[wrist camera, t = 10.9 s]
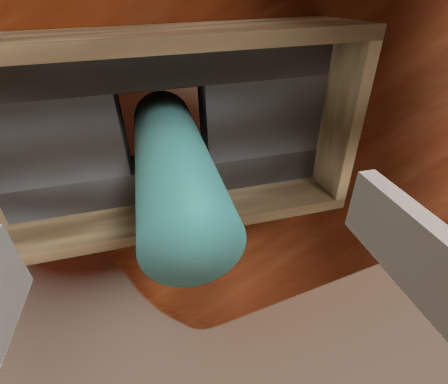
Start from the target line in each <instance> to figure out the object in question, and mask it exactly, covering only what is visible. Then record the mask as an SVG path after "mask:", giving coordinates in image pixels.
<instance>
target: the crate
mask: <svg viewBox="0 0 448 384" xmlns="http://www.w3.org/2000/svg"><path fill="white" fill-rule="evenodd" d="M386 26H387V23H380V22H372V21H364V20H355V19H347V18H339V17H331V16H308V17H288V18H267V19H247V20H227V21H207V22H186V23H166V24H146V25H125V26H105V27H85V28H65V29H44V30H24V31H4V32H0V224H3V225H4V227H5V229H6V231H7V232H8V234H9V236H10V238H11V240H12V241H13V243H14V245H15V247H16V249H17V251H18V252H19V254H20V256H21V258H22V260H23V261H24V263H25V265H26V266H28V265H33V264H38V263H44V262H49V261H55V260H60V259H65V258H71V257H77V256H82V255H87V254H92V253H98V252H104V251H109V250H115V249H120V248H126V247H131V246H136V209H135V156H131V154H130V149H129V146H128V140H127V136H126V131H125V126H124V121H123V117H122V112H121V107H120V103H119V98H118V94H120V93H132V92H143V91H153V90H165V89H176V88H187V87H198V101H199V113H200V129H201V137H202V139H203V141H204V143H205V145H206V147H207V149H208V152H209V154H210V156H211V158H212V160H213V162H214V164H215V166H216V168H217V170H218V173H219V175H220V177H221V179H222V181H223V183H224V185H225V187H226V189H227V191H228V194H229V196H230V198H231V200H232V202H233V204H234V206H235V208H236V210H237V212H238V215H239V217H240V219H241V221H242V223H243V225H244V226H245V225H251V224H256V223H262V222H267V221H273V220H278V219H284V218H289V217H295V216H300V215H305V214H311V213H316V212H322V211H327V210H333V209H338V208H343V207H344V203H345V199H346V195H347V190H348V186H349V182H350V178H351V174H352V169H353V165H354V161H355V157H356V153H357V148H358V144H359V140H360V136H361V132H362V127H363V123H364V119H365V115H366V111H367V106H368V102H369V98H370V94H371V89H372V85H373V81H374V77H375V73H376V68H377V64H378V60H379V56H380V52H381V47H382V43H383V39H384V35H385V31H386Z"/></svg>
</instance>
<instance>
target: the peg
mask: <svg viewBox="0 0 448 384" xmlns="http://www.w3.org/2000/svg"><path fill="white" fill-rule="evenodd" d="M134 129H135V130H134V134H135V209H136V257H137V261H138V264H139V266H140V268H141V270H142V271H143V272H144V273H145V274H146V275H147V276H148V277H149V278H151V279H152V280H154V281H156V282H158V283H160V284H163V285H166V286H171V287H193V286H199V285H202V284H206V283H209V282H211V281H213V280H216V279H217V278H219V277H221V276H223V275H224V274H225V273H227V272H228V271H229V270H230V269H232V268H233V267H234V266H235V265H236V263H237V262H238V261H239V259H240V258H241V256H242V254H243V252H244V250H245V246H246V240H247V238H246V231H245V227H244V225H243V223H242V221H241V219H240V217H239V215H238V212H237V210H236V208H235V206H234V204H233V202H232V200H231V198H230V196H229V194H228V191H227V189H226V187H225V185H224V183H223V181H222V179H221V177H220V175H219V173H218V170H217V168H216V166H215V164H214V162H213V160H212V158H211V156H210V154H209V152H208V149H207V147H206V145H205V143H204V141H203V139H202V137H201V135H200V133H199V131H198V128H197V126H196V124H195V122H194V120H193V118H192V116H191V114H190V112H189V110H188V108H187V106H186V104H185V102H184V101H183V100H182V99H181V98H180V97H178V96H177V95H175V94H173V93H171V92H167V91H156V92H152V93H150V94H148V95H146V96H145V97H143V98H142V99H141V100H140V101H139V103H138V105H137V107H136V110H135V114H134Z"/></svg>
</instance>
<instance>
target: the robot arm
mask: <svg viewBox="0 0 448 384" xmlns="http://www.w3.org/2000/svg"><path fill="white" fill-rule="evenodd" d="M345 225H346V226H347V227H348V228H349V229H350V231H351V232H352V233H353V234H354V235H355V236H356V237H357V239H358V240H359V241H360V242H361V243H362V244H363V246H364V247H365V248H366V249H367V250H368V251H369V252H370V254H371V255H372V256H373V257H374V258H375V259H376V260H377V262H378V263H379V264H380V265H381V266H382V267H383V268H384V270H385V271H386V272H387V273H388V274H389V275H390V277H391V278H392V279H393V280H394V281H395V282H396V283H397V285H398V286H399V287H400V288H401V289H402V290H403V291H404V293H405V294H406V295H407V296H408V297H409V298H410V300H411V301H412V302H413V303H414V304H415V305H416V306H417V308H419V310H420V311H421V312H422V313H423V314H424V316H425V317H426V318H427V319H428V320H429V321H430V322H431V324H432V325H433V326H434V327H435V328H436V329H437V331H438V332H439V333H440V334H441V335H442V336H443V337H444V339H445V340H446V341H447V342H448V225H447V224H446V223H444V222H443V221H442V220H440V219H439V218H438V217H437V216H435V215H434V214H433V213H431V212H430V211H429V210H427V209H426V208H425V207H424V206H422V205H421V204H420V203H418V202H417V201H416V200H414V199H413V198H412V197H411V196H409V195H408V194H407V193H405V192H404V191H403V190H401V189H400V188H399V187H398V186H396V185H395V184H394V183H392V182H391V181H390V180H388V179H387V178H386V177H384V176H383V175H382V174H381V173H379V172H378V171H377V170H375V169H372V170H366V171H359V172H358V174H357V178H356V182H355V186H354V190H353V193H352V197H351V201H350V205H349V209H348V213H347V217H346V221H345ZM32 282H33V278H32V276H31V274H30V272H29V271H28V269H27V267H26V265H25V263H24V261H23V260H22V258H21V256H20V254H19V252H18V251H17V249H16V247H15V245H14V243H13V241H12V240H11V238H10V236H9V234H8V232H7V231H6V229H5V227H4V225H3V224H0V370H1V367H2V364H3V361H4V358H5V356H6V353H7V350H8V348H9V345H10V342H11V339H12V336H13V334H14V331H15V329H16V326H17V323H18V320H19V317H20V315H21V312H22V309H23V307H24V304H25V301H26V298H27V296H28V293H29V290H30V287H31V285H32Z"/></svg>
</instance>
